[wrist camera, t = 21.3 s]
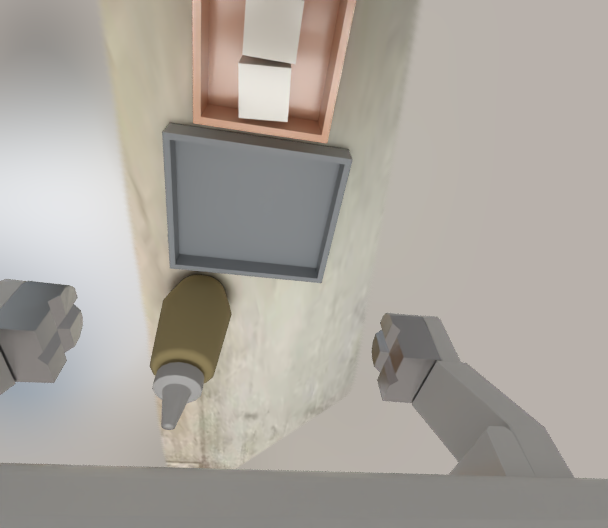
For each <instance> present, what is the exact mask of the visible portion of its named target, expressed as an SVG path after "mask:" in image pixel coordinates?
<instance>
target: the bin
mask: <svg viewBox="0 0 608 528" xmlns="http://www.w3.org/2000/svg"><path fill="white" fill-rule="evenodd" d="M245 5H246V0H192V50H193V123H194V124H201V125H208V126H214V127H221V128H228V129H234V130H241V131H248V132H254V133H261V134H268V135H274V136H281V137H288V138H294V139H301V140H308V141H314V142H321V143H327V142H328V137H329V132H330V127H331V122H332V117H333V113H334V108H335V103H336V98H337V93H338V88H339V83H340V78H341V74H342V69H343V64H344V59H345V54H346V49H347V44H348V39H349V35H350V30H351V25H352V20H353V15H354V10H355V5H356V0H304V8H303V15H302V22H301V29H300V36H299V43H298V50H297V58H296V64H291V68H292V69H291V83H290V97H289V111H288V122H281V121H269V120H257V119H246V118H239V92H238V63H239V61H240V59H241V57H242V51H243V36H244V20H245Z"/></svg>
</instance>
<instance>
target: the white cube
mask: <svg viewBox="0 0 608 528" xmlns="http://www.w3.org/2000/svg"><path fill="white" fill-rule="evenodd" d="M303 8H304V0H246V5H245V20H244V36H243V51H242V55H246V56H252V57H257V58H263V59H268V60H274V61H280V62H285V63H291V64H296V58H297V50H298V43H299V36H300V29H301V22H302V15H303Z"/></svg>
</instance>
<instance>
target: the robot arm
mask: <svg viewBox="0 0 608 528" xmlns="http://www.w3.org/2000/svg"><path fill="white" fill-rule="evenodd" d="M76 299H77V294H76V291H75V288H74V287H72V286H69V285H61V284H52V283H43V282H33V281H19V280H11V279H4V280H2V281H0V395H1V394H2V393H4V392H5V391H6V390H8V389H9V388H10V387H12V386H13V385H14V384H15V382H42V383H54V382H55V380H56V379H57V377H58V375H59V373H60V371H61V370H62V368H63V366H64V365H65V363H66V361H67V360H66V356H65V352H66V351H68V350H70V349H71V348H73V347H74V346H75V345H76V343H77V341H78V339H79V337H80V334H81V330H82V325H83V322H82V313H81V310H80V309H79V308H77V307H76V306H75V305H74V302H75V301H76ZM380 324H381V328H382V330H380V331H379V332H378V333H376V334H375V337H374V340H373V345H372V359H373V364H374V367H375V368H376V369H377V370H378V371H379V372H380V375H379V377H378V380H377V381H378V384H379V388H380V393H381V397H382V400H383V401H393V402H405V403H412V405H413V407H414V408H415V409H416V410H417V412H418V413H419V414H420V415H421V416H422V418H423V419H424V420H425V421H426V423H427V424H428V425H429V426H430V428H431V429H432V430H433V431H434V432H435V434H436V435H437V436H438V437H439V438H440V440H441V441H442V442H443V443H444V445H445V446H446V447H447V448H448V450H449V451H450V452H451V453H452V455H453V456H454V457H455V458H456V459H457V461H458V462H459V463H458V464H457V465H456V467H455V468H454V469H453V470H452V471H451V472H450V474H449V475H438V474H401V473H363V472H362V473H361V472H326V471H325V472H323V471H289V470H287V471H286V470H251V469H212V468H173V467H133V466H95V465H94V466H93V465H58V464H20V463H0V528H608V479H587V478H574V477H573V475H572V473H571V471H570V469H569V468H568V466H567V464H566V463H565V461H564V460H563V458H562V456H561V454H560V453H559V451H558V449H557V447H556V446H555V444H554V442H553V441H552V439H551V437H550V435H549V434H548V432H547V430H546V429H545V427H544V426H542V425H541V424H540V423H539V422H538V421H536V420H535V419H534V418H533V417H531V416H530V415H529V414H528V413H526V412H525V411H524V410H523V409H522V408H520V407H519V406H518V405H517V404H516V403H514V402H513V401H512V400H511V399H509V398H508V397H507V396H506V395H505V394H503V393H502V392H501V391H500V390H499V389H497V388H496V387H495V386H494V385H493V384H491V383H490V382H489V381H488V380H486V379H485V378H484V377H483V376H481V375H480V374H479V373H478V372H477V371H476V370H474V369H473V368H472V367H471V366H469V365H468V364H467V363H462V362H461V361H460V359H459V357H458V355H457V353H456V351H455V349H454V347H453V345H452V342H451V340H450V338H449V336H448V334H447V332H446V330H445V328H444V326H443V324H442V322H441V320H440V319H439V318H438V317H434V316H418V315H405V314H392V313H386V314H385V315H384V316H383V317H382V320H381V322H380Z"/></svg>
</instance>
